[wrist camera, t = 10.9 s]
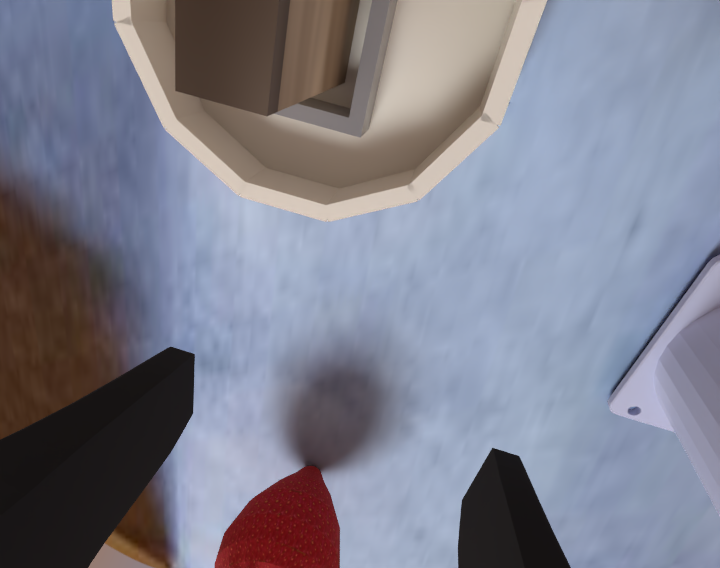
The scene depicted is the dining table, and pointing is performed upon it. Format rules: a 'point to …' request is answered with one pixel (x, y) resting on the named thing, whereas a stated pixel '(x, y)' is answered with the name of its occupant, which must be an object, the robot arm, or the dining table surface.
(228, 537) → the strawberry
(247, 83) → the tan cardboard box
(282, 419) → the dining table surface
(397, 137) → the beige faceted bowl
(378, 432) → the dining table surface
